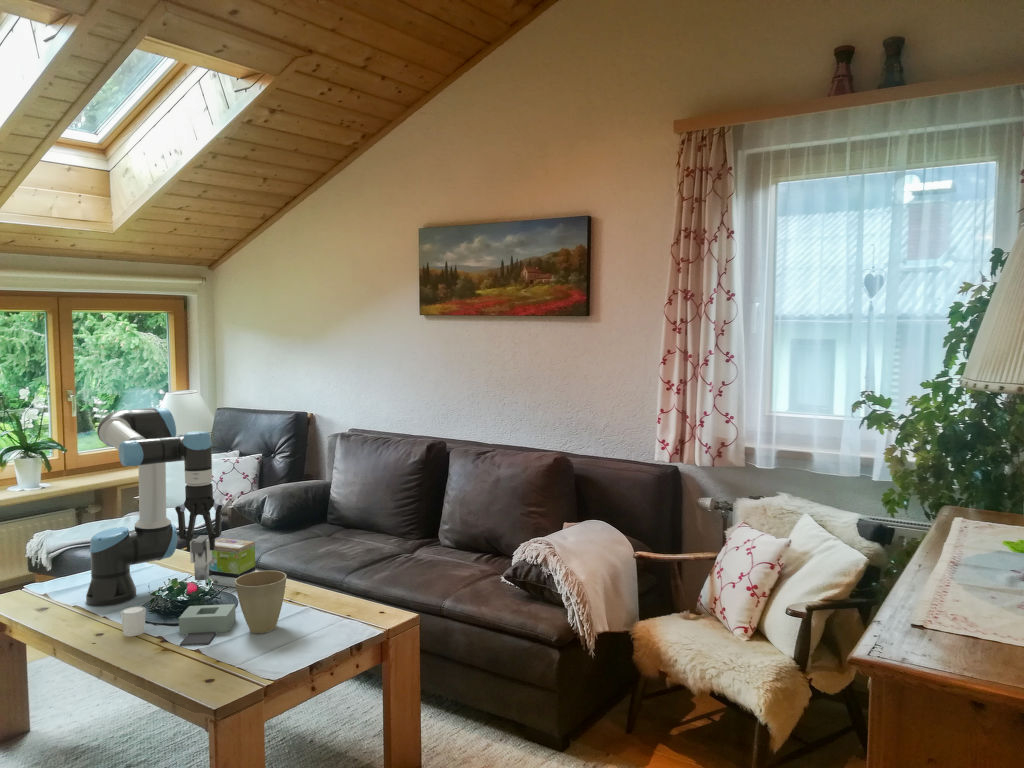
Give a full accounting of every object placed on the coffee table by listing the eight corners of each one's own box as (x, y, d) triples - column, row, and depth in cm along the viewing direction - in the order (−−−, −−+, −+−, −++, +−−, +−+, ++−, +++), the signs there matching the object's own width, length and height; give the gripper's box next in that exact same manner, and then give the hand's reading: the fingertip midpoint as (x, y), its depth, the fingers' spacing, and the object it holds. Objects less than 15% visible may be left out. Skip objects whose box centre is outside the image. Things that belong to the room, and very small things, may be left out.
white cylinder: (115, 635, 224) (115, 612, 224) (134, 627, 231) (133, 604, 230) (133, 638, 222) (132, 615, 221) (151, 629, 228) (151, 607, 228)
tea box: (203, 584, 270) (202, 544, 269) (222, 576, 280) (221, 537, 279) (239, 588, 266) (238, 547, 265) (256, 579, 275) (255, 540, 275)
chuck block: (179, 634, 225) (178, 617, 225) (189, 621, 235) (189, 606, 234) (227, 631, 226) (226, 615, 226) (235, 619, 236) (235, 604, 236)
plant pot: (261, 617, 239) (260, 567, 238) (297, 624, 232) (296, 574, 231) (225, 633, 225) (223, 581, 224) (262, 642, 219) (261, 588, 218)
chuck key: (199, 574, 228) (198, 535, 227) (213, 573, 228) (211, 534, 228) (190, 583, 219) (189, 543, 218) (204, 582, 220) (203, 542, 219)
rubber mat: (179, 645, 216) (179, 643, 216) (188, 635, 224) (188, 633, 224) (208, 644, 217) (208, 642, 217) (216, 633, 225) (216, 631, 225)
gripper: (164, 487, 217) (167, 566, 219) (225, 485, 220) (228, 563, 221) (172, 482, 225) (175, 559, 226) (231, 480, 227) (234, 556, 228)
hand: (201, 561), depth 223 cm, fingers closed on chuck key, 4 cm apart
